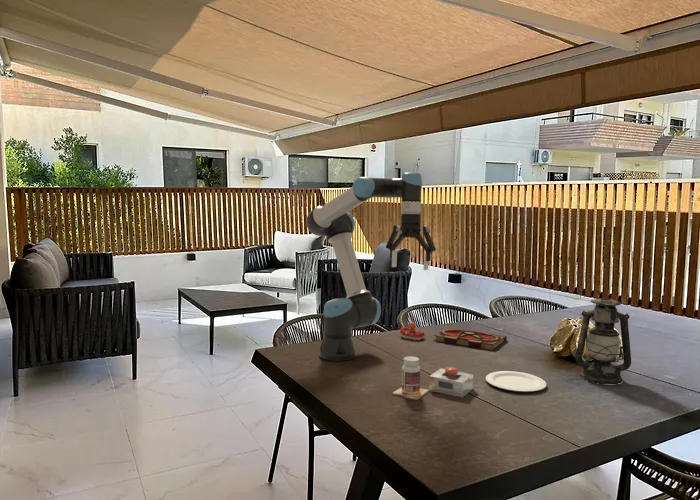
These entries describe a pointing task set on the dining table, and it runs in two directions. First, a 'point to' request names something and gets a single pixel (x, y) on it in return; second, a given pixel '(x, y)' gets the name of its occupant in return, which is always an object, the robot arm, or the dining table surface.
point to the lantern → (604, 343)
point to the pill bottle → (411, 375)
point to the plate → (516, 381)
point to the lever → (451, 371)
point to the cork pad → (411, 396)
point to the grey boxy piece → (451, 383)
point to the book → (470, 338)
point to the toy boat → (411, 332)
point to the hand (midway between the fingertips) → (409, 268)
